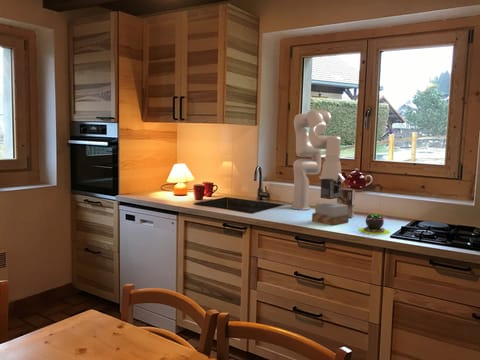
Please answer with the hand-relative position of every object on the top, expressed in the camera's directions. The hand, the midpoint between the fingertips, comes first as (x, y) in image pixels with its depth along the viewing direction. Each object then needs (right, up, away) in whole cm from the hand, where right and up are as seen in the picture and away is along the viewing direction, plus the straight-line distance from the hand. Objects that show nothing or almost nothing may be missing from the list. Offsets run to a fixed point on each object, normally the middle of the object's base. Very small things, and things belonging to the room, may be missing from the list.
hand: (330, 192), depth 240 cm
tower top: (0, -12, +1) cm, 12 cm away
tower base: (0, -17, +2) cm, 17 cm away
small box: (0, -3, 0) cm, 3 cm away
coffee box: (+12, -15, +20) cm, 28 cm away
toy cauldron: (+18, -19, -18) cm, 32 cm away
